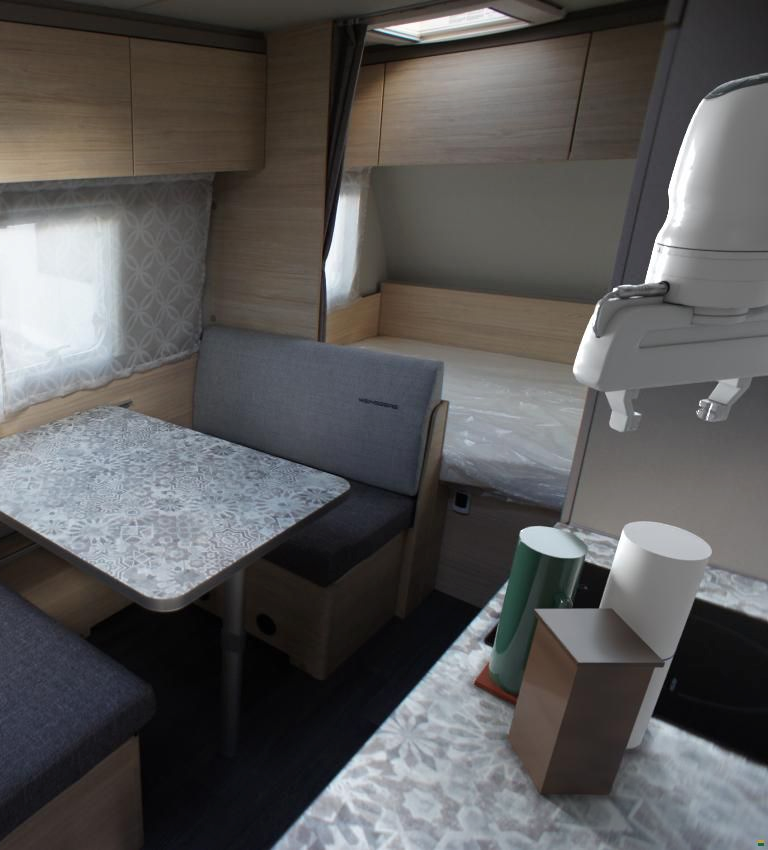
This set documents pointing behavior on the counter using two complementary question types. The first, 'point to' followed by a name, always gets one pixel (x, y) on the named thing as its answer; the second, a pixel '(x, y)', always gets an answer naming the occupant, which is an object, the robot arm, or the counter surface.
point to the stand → (580, 699)
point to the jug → (533, 597)
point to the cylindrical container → (655, 594)
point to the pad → (493, 686)
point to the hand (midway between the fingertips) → (666, 424)
